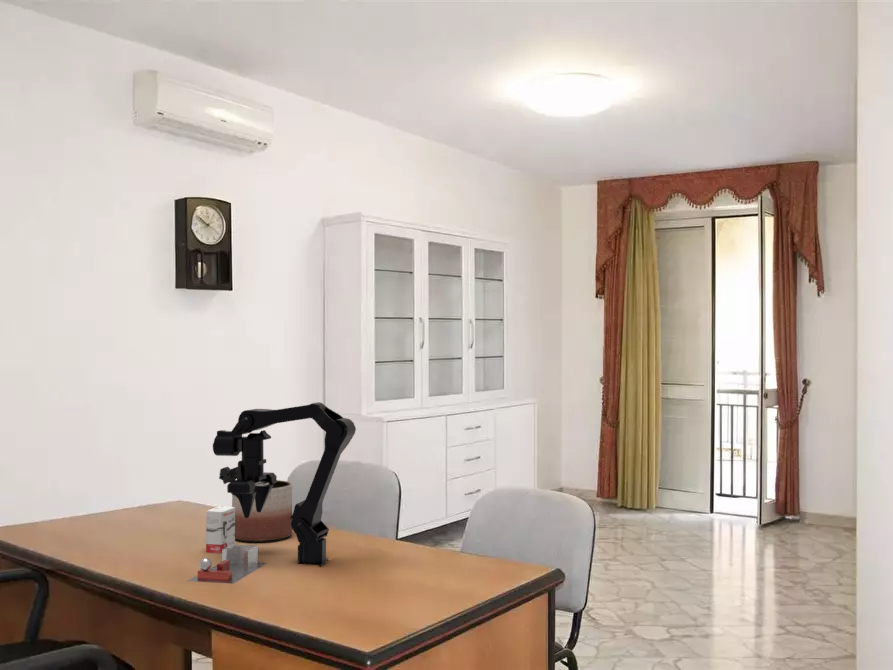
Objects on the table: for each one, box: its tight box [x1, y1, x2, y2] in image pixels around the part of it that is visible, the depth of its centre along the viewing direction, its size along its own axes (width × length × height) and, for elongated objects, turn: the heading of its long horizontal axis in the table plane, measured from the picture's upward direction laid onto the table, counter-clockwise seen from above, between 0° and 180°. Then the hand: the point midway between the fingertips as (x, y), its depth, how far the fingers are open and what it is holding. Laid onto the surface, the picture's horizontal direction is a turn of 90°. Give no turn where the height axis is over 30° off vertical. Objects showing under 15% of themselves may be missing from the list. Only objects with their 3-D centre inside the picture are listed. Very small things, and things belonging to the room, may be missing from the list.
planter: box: [231, 479, 293, 543], centre depth 254 cm, size 18×18×16 cm
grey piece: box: [186, 557, 268, 585], centre depth 212 cm, size 12×20×6 cm, turn 169°
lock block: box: [221, 543, 259, 569], centre depth 219 cm, size 7×6×4 cm
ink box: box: [205, 505, 236, 554], centre depth 237 cm, size 9×5×12 cm, turn 168°
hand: (252, 514), depth 227 cm, fingers open, 7 cm apart
